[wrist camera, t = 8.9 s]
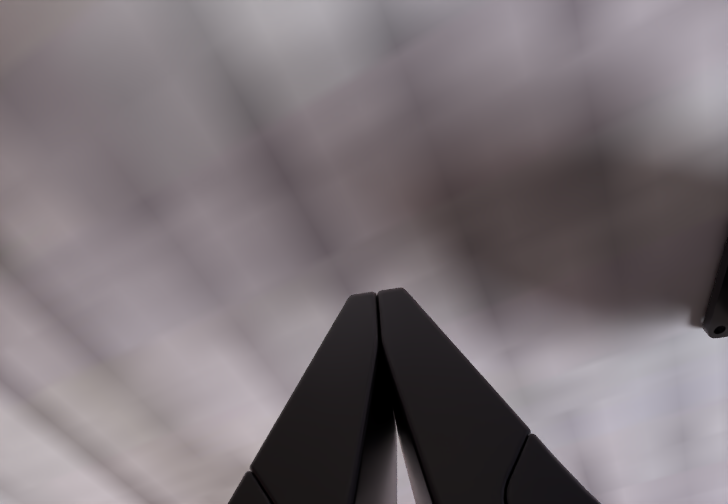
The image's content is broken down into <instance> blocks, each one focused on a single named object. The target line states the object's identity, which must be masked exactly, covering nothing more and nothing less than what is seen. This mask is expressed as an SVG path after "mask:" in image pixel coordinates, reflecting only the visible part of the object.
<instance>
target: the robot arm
mask: <svg viewBox="0 0 728 504" xmlns="http://www.w3.org/2000/svg"><path fill="white" fill-rule="evenodd" d="M703 329H704V331H705V332H706V333H707V334H708V335H709V336H710V337H711V338H721V337H728V239H727V242H726V246H725V249H724V253H723V256H722V260H721V263H720V267H719V270H718V274H717V277H716V281H715V285H714V288H713V292H712V295H711V299H710V302H709V306H708V309H707V313H706V316H705V320H704V323H703ZM395 420H396V423H395ZM396 426H397V431H398V436H399V440H400V444H401V449H402V452H403V456H404V460H405V464H406V468H407V472H408V476H409V479H410V483H411V487H412V491H413V495H414V499H415V503H416V504H601V503H600V502H599V501H598V500H597V499H596V498H594V497H593V496H592V495H591V494H590V493H589V492H588V491H587V490H586V489H585V488H584V487H583V486H582V485H581V484H580V483H579V482H578V480H577V479H576V478H575V477H574V476H573V475H572V474H571V473H570V472H569V471H568V470H567V469H566V468H565V467H564V466H563V465H562V464H561V463H560V462H559V461H558V459H557V458H556V457H555V456H554V455H553V454H552V453H551V452H550V451H549V450H548V448H547V447H546V446H545V445H544V444H543V443H542V442H541V441H540V439H539V438H538V437H537V436H536V435H535V434H531V431H530V429H529V428H528V426H527V425H526V424H525V423H524V422H523V421H522V420H521V419H520V418H519V416H518V415H517V414H516V413H515V412H514V411H513V410H512V409H511V407H510V406H509V405H508V404H507V403H506V402H505V401H504V400H503V398H502V397H501V396H500V395H499V394H498V393H497V392H496V391H495V390H494V388H493V387H492V386H491V385H490V384H489V383H488V382H487V381H486V379H485V378H484V377H483V376H482V375H481V374H480V373H479V372H478V370H477V369H476V368H475V367H474V366H473V365H472V364H471V363H470V362H469V360H468V359H467V358H466V357H465V356H464V355H463V354H462V353H461V351H460V350H459V349H458V348H457V347H456V346H455V345H454V344H453V343H452V341H451V340H450V339H449V338H448V337H447V336H446V335H445V334H444V332H443V331H442V330H441V329H440V328H439V327H438V326H437V325H436V323H435V322H434V321H433V320H432V319H431V318H430V317H429V316H428V315H427V313H426V312H425V311H424V310H423V309H422V308H421V307H420V306H419V304H418V303H417V302H416V301H415V300H414V299H413V298H412V297H411V295H410V294H409V293H408V292H407V291H406V290H405V289H403V288H395V289H388V290H382V291H379V292H378V294H377V295H376V293H374V292H368V293H361V294H354V295H351V296H350V297H349V298H348V299H347V301H346V303H345V304H344V306H343V308H342V310H341V311H340V313H339V315H338V316H337V318H336V320H335V322H334V323H333V325H332V327H331V328H330V330H329V332H328V334H327V335H326V337H325V339H324V340H323V342H322V344H321V346H320V347H319V349H318V351H317V352H316V354H315V356H314V358H313V359H312V361H311V363H310V364H309V366H308V368H307V370H306V371H305V373H304V375H303V376H302V378H301V380H300V382H299V383H298V385H297V387H296V388H295V390H294V392H293V394H292V395H291V397H290V399H289V400H288V402H287V404H286V406H285V407H284V409H283V411H282V412H281V414H280V416H279V418H278V419H277V421H276V423H275V424H274V426H273V428H272V430H271V431H270V433H269V435H268V436H267V438H266V440H265V441H264V443H263V445H262V447H261V448H260V450H259V452H258V453H257V455H256V457H255V459H254V460H253V462H252V464H251V465H250V471H248V472H246V473H245V475H244V477H243V479H242V480H241V482H240V484H239V486H238V487H237V489H236V491H235V492H234V494H233V496H232V497H231V499H230V501H229V502H228V504H397V434H396Z"/></svg>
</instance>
